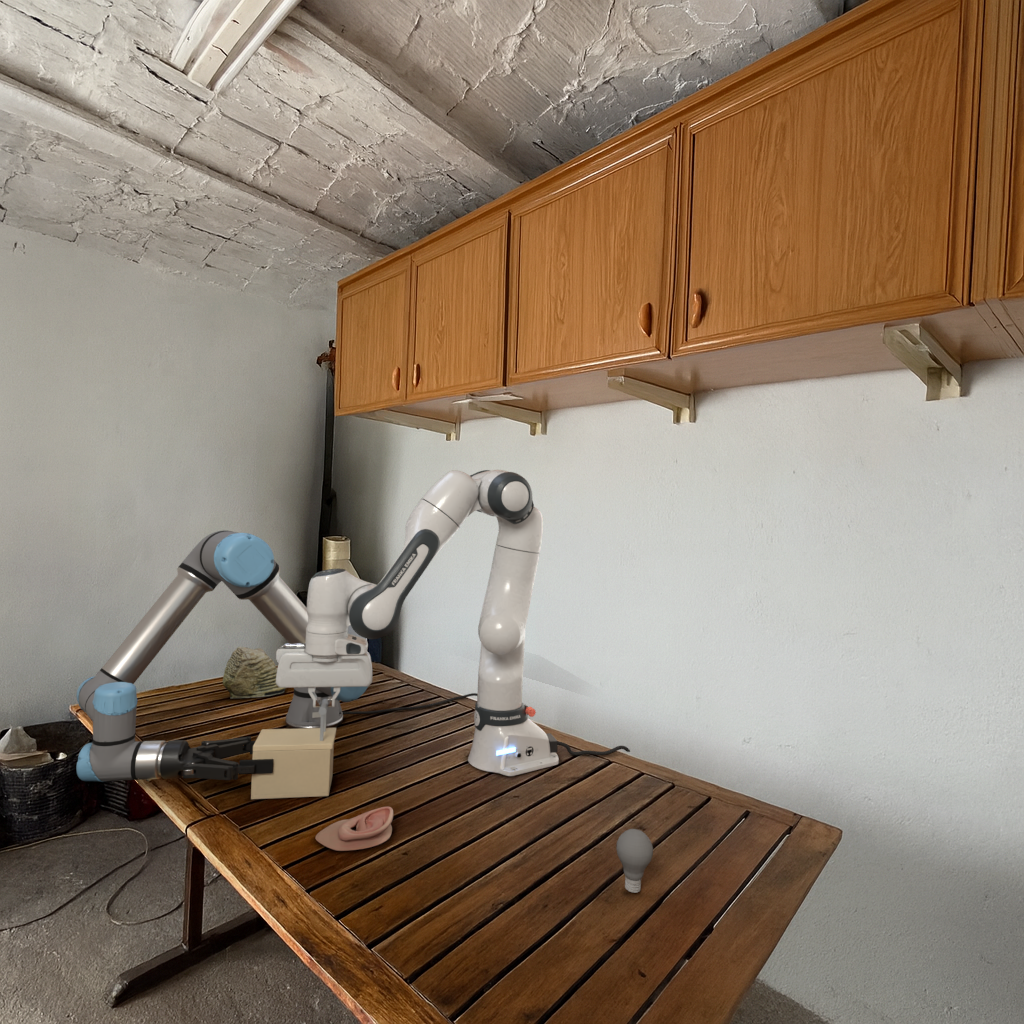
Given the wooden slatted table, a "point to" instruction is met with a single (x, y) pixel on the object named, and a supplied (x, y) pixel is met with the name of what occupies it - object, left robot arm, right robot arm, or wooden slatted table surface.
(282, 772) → the chest
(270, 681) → the fossil
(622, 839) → the light bulb
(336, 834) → the anatomical model
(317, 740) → the lid
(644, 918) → the wooden slatted table surface
